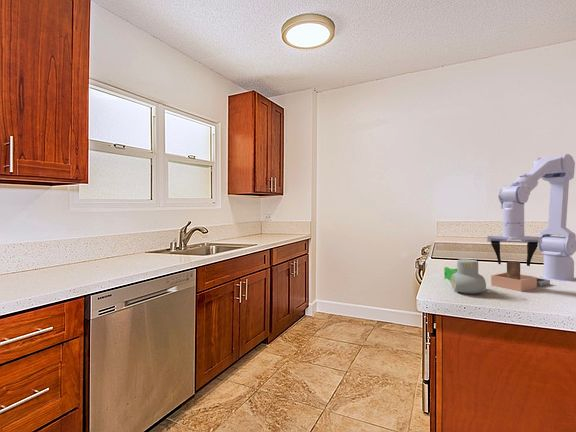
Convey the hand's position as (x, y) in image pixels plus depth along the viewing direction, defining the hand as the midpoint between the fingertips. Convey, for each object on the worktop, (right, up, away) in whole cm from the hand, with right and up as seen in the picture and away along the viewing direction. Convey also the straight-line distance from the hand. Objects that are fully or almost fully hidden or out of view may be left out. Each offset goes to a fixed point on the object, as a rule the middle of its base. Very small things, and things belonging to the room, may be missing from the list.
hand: (513, 264), depth 105 cm
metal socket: (+9, -8, +3) cm, 12 cm away
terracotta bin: (0, -8, 0) cm, 8 cm away
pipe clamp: (-14, -8, +10) cm, 19 cm away
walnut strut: (0, -7, 0) cm, 7 cm away
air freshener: (-16, -9, -3) cm, 19 cm away
